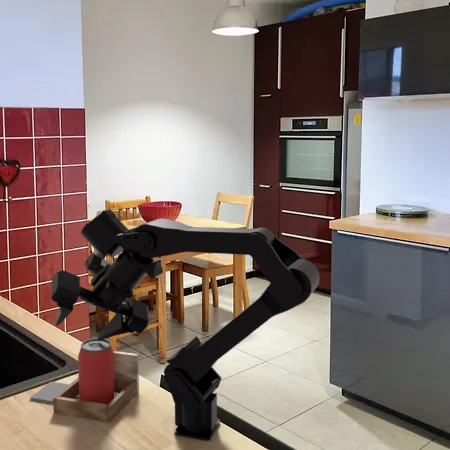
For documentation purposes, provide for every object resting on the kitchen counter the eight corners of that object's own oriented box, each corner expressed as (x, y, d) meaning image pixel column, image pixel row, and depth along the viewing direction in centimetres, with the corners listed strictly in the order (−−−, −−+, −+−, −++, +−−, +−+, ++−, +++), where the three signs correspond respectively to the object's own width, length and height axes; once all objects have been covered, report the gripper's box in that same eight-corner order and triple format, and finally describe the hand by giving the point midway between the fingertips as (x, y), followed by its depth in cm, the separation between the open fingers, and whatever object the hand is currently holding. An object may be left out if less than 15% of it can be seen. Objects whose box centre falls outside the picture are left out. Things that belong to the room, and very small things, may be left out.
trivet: (79, 388, 116) (79, 385, 116) (59, 404, 109) (59, 402, 109) (51, 383, 118) (50, 381, 118) (30, 399, 111) (30, 397, 111)
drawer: (139, 392, 114) (138, 354, 113) (110, 422, 103) (109, 381, 102) (86, 384, 118) (85, 347, 116) (53, 413, 106) (51, 372, 105)
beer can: (99, 390, 114) (98, 333, 112) (121, 402, 110) (121, 344, 108) (72, 403, 109) (70, 344, 107) (94, 416, 105) (93, 355, 103)
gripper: (162, 265, 112) (118, 316, 118) (76, 226, 103) (33, 284, 109) (169, 305, 103) (121, 358, 109) (76, 267, 94) (29, 327, 100)
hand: (77, 331), depth 107 cm, fingers open, 8 cm apart
